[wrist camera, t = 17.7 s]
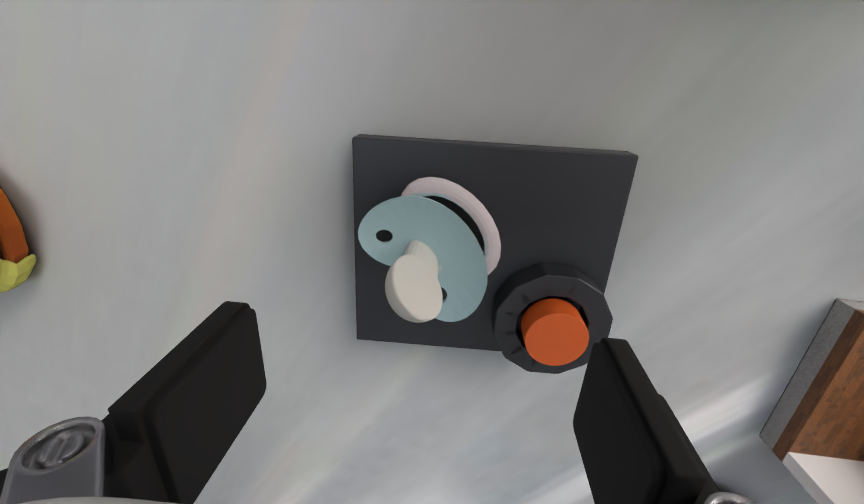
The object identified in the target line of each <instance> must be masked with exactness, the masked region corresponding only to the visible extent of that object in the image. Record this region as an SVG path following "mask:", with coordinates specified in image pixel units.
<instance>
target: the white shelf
mask: <svg viewBox="0 0 864 504" xmlns="http://www.w3.org/2000/svg"><path fill="white" fill-rule="evenodd" d="M760 437H761V438H762V439H763V441H764V442H765V443H766V444H767V445H768V446H769V448H770V449H771V450H772V451H773V452H774V453H775V455H776V456H777V457H778V458H779V459H780V461H781V462H782V463H783V464H784V465H785V466H786V468H787V469H788V470H789V471H790V472H791V473H792V475H793V476H794V477H795V478H796V479H797V480H798V482H799V483H800V484H801V485H802V486H803V488H804V489H805V490H806V491H807V492H808V493H809V495H810V496H811V497H812V498H813V499H814V500H815V502H816V503H817V504H864V302H860V301H852V300H843V299H837V300H836V301H835V303H834V305H833V307H832V308H831V310H830V312H829V314H828V316H827V317H826V319H825V321H824V323H823V324H822V326H821V328H820V330H819V331H818V333H817V335H816V337H815V338H814V340H813V342H812V344H811V346H810V347H809V349H808V351H807V353H806V354H805V356H804V358H803V360H802V361H801V363H800V365H799V367H798V369H797V370H796V372H795V374H794V376H793V377H792V379H791V381H790V383H789V384H788V386H787V388H786V390H785V391H784V393H783V395H782V397H781V399H780V400H779V402H778V404H777V406H776V407H775V409H774V411H773V413H772V414H771V416H770V418H769V420H768V422H767V423H766V425H765V427H764V429H763V430H762V432H761V434H760Z"/></svg>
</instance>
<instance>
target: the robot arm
mask: <svg viewBox="0 0 864 504" xmlns="http://www.w3.org/2000/svg"><path fill="white" fill-rule="evenodd" d="M265 390H266V377H265V371H264V364H263V358H262V351H261V344H260V338H259V331H258V325H257V318H256V313H255V310H254V309H251V308H250V306H249V304H247V303H240V302H230V301H227V302H224V303H223V304H221V305H220V306H219V307H218V308H217V309H216V310H215V311H214V312H213V313H212V314H211V315H209V316H208V317H207V318H206V319H205V320H204V321H203V322H202V323H201V324H200V325H199V326H197V327H196V328H195V329H194V330H193V331H192V332H191V333H190V334H189V335H188V336H187V337H186V338H184V339H183V340H182V341H181V342H180V343H179V344H178V345H177V346H176V347H175V348H174V349H172V350H171V351H170V352H169V353H168V354H167V355H166V356H165V357H164V358H163V359H162V360H160V361H159V362H158V363H157V364H156V365H155V366H154V367H153V368H152V369H151V370H150V371H148V372H147V373H146V374H145V375H144V376H143V377H142V378H141V379H140V380H139V381H138V382H136V383H135V384H134V385H133V386H132V387H131V388H130V389H129V390H128V391H127V392H126V393H124V394H123V395H122V396H121V397H120V398H119V399H118V400H117V401H116V402H115V403H114V404H112V405H111V406H110V407H109V408H108V411H109V414H108V415H107V416H106V417H105V418H104V419H103V420H102V421H100V420H99V419H98V418H93V417H76V418H72V419H68V420H64V421H61V422H59V423H56V424H54V425H51V426H49V427H47V428H45V429H43V430H42V431H40V432H38V433H36V434H35V435H33V436H32V437H31V438H29V439H28V440H27V441H26V442H24V443H23V444H22V445H21V446H20V447H19V449H18V450H17V451H16V452H15V453H14V455H13V457H12V459H11V461H10V464H9V468H7V469H4V470H2V471H0V504H193V503H194V502H195V500H196V499H197V497H198V496H199V494H200V493H201V491H202V490H203V488H204V486H205V485H206V483H207V482H208V480H209V479H210V477H211V476H212V474H213V473H214V471H215V470H216V468H217V466H218V465H219V463H220V462H221V460H222V459H223V457H224V456H225V454H226V453H227V451H228V450H229V448H230V446H231V445H232V443H233V442H234V440H235V439H236V437H237V436H238V434H239V433H240V431H241V430H242V428H243V426H244V425H245V423H246V422H247V420H248V419H249V417H250V416H251V414H252V413H253V411H254V410H255V408H256V406H257V405H258V403H259V402H260V400H261V399H262V397H263V395H264V393H265ZM573 427H574V432H575V436H576V439H577V443H578V446H579V450H580V453H581V457H582V460H583V464H584V467H585V471H586V474H587V478H588V481H589V485H590V488H591V492H592V495H593V499H594V503H595V504H758V503H756V502H754V501H752V500H750V499H748V498H746V497H744V496H741V495H738V494H734V493H731V492H720V491H719V489H718V488H717V486H716V484H715V482H714V481H713V479H712V477H711V476H710V474H709V472H708V471H707V469H706V467H705V466H704V464H703V462H702V461H701V459H700V457H699V455H698V454H697V452H696V450H695V449H694V447H693V445H692V444H691V442H690V440H689V439H688V437H687V435H686V434H685V432H684V430H683V428H682V427H681V425H680V423H679V422H678V420H677V418H676V417H675V415H674V413H673V412H672V410H671V408H670V407H669V405H668V403H667V401H666V400H665V399H664V398H663V396H661V395H659V394H658V393H657V391H656V390H655V388H654V386H653V385H652V383H651V381H650V379H649V378H648V376H647V374H646V372H645V371H644V369H643V367H642V366H641V364H640V362H639V360H638V359H637V357H636V355H635V353H634V352H633V350H632V348H631V347H630V345H629V343H628V342H627V341H626V340H623V339H613V338H602V339H601V340H600V343H598V342H595V343H594V344H593V346H592V350H591V354H590V357H589V361H588V365H587V369H586V372H585V376H584V380H583V384H582V387H581V391H580V395H579V399H578V402H577V406H576V410H575V414H574V419H573Z"/></svg>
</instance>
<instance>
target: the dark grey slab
mask: <svg viewBox="0 0 864 504" xmlns="http://www.w3.org/2000/svg"><path fill="white" fill-rule="evenodd" d="M352 145H353V189H354V234H355V278H356V322H357V339H361V340H373V341H385V342H397V343H409V344H421V345H433V346H445V347H457V348H469V349H481V350H493V351H502V353H503V355H504V357H505V358H506V359H508V360H510V361H511V362H513V363H515V364H516V365H518V366H520V367H521V368H523V369H525V370H527V371H530V372H541V373H553V374H559V373H562V372H565V371H568V370H571V369H574V368H577V367H580V366H582V365H585V364H586V363H588V361H589V357H590V354H591V350H592V346H593V344H594V343H595V342H598V343H600V340H601V339H602V338H608V335H609V331H610V328H611V324H612V320H613V317H612V315H611V312H610V310H609V307H608V305H607V302H606V300H605V297H604V292H605V288H606V284H607V280H608V276H609V272H610V268H611V264H612V260H613V256H614V252H615V248H616V244H617V240H618V236H619V232H620V228H621V224H622V220H623V216H624V212H625V208H626V204H627V200H628V196H629V193H630V189H631V185H632V181H633V177H634V173H635V169H636V165H637V161H638V156H637V155H635V154H633V153H630V152H628V151H614V150H598V149H583V148H567V147H551V146H536V145H520V144H505V143H489V142H473V141H458V140H442V139H426V138H411V137H395V136H380V135H364V134H359V135H357V136H355V137H353V139H352ZM425 177H436V178H443V179H446V180H449V181H451V182H454V183H456V184H458V185H460V186H461V187H463V188H464V189H466V190H467V191H469V192H470V193H472V194H473V195H474V196H475V197H476V198H477V199H478V200H479V201H480V202H481V203H482V204H483V205H484V207H485V208H486V210H487V211H488V213H489V214H490V215H491V217H492V218H493V221H494V223H495V225H496V227H497V230H498V232H499V237H500V242H501V253H500V259H499V261H498V264H497V266H496V268H495V269H494V270H493V271H492V272H491V273H490V274H489V275H488V277H487V287H486V291H485V294H484V296H483V298H482V301H481V302H480V304H479V306H478V307H477V309H476V310H475V311H474V312H473V313H472V314H471V315H469V316H468V317H467V318H464V319H462V320H460V321H455V322H445V321H442V320H438V319H436V318H434V319H432V320H429V321H426V322H419V323H416V322H411V321H408V320H405V319H403V318H402V317H400V316H399V315H398V314H397V313H396V312H395V311H394V310H393V309H392V307H391V306H390V304H389V302H388V300H387V297H386V292H385V280H386V276H387V273H388V271H389V268H390V267H391V266H389V265H385V264H383V263H381V262H379V261H377V260H375V259H374V258H372V257H371V256H370V255H369V254H368V253H367V252H366V251H365V250H364V249H363V248H362V246H361V244H360V241H359V239H358V230H359V225H360V223H361V221H362V219H363V218H364V217H365V215H366V214H367V213H368V212H369V211H370V210H371V209H372V208H374V207H375V206H377V205H378V204H380V203H382V202H384V201H387V200H389V199H392V198H396V197H400V196H401V195H402V192H403V191H404V190H405V188H406V187H407V186H408V184H410V183H411V182H413V181H415V180H417V179H419V178H425ZM424 198H428V199H432V200H434V201H436V202H438V203H440V204H442V205H444V206H446V207H447V208H449V209H450V210H451V211H453V212H454V213H455V214H457V215H458V216H459V217H460V218H461V219H462V220H463V221H464V223H465V224H466V225H467V226H468V227H469V229H470V230H471V231H472V233H473V234H474V236H475V237H476V239H477V241H478V243H479V245H480V247H481V249H482V251H484V240H483V236H482V234H481V232H480V230H479V228H478V226H477V224H476V223H475V222H474V220H473V219H472V217H471V216H470V215H469V214H468V213H467V212H466V211H465V210H464V209H463V208H461V207H460V206H458V205H457V204H456V203H454V202H453V201H450V200H448V199H446V198H443V197H439V196H433V195H432V196H424ZM376 238H377V239H378V240H379V241H381V242H388V241H390V240H391V239H392V238H393V235H392V233H391V232H390V231H388V230H380V231H378V232H377V233H376ZM441 290H442V296H443V300H445V299H446V297H447V292H446V290H445V289H444V288H442V287H441ZM549 298H557V299H562V300H565V301H567V302H569V303H571V304H572V305H573V306H574V307H575V308H576V309H577V310H578V312H579V314H580V316H581V318H582V319H583V321H584V323H585V325H586V327H587V329H588V332H589V342H588V346H587V348H586V350H585V351H584V353H583V354H582V355H581V356H580V357H579V358H577V359H576V360H574V361H572V362H570V363H568V364H564V365H559V366H551V365H545V364H542V363H540V362H538V361H536V360H535V359H533V358H532V357H531V356H530V355H529V353H528V352H527V350H526V347H525V343H524V339H523V335H522V331H521V320H522V317H523V315H524V313H525V312H526V310H527V309H528V308H529V307H530V306H531V305H533V304H534V303H536V302H538V301H540V300H543V299H549Z"/></svg>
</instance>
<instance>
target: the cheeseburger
mask: <svg viewBox="0 0 864 504" xmlns="http://www.w3.org/2000/svg"><path fill="white" fill-rule="evenodd" d="M28 251H29V250H28V246H27V243H26V239H25V236H24V232H23V228H22V225H21V222H20V221H19V219H18V217H17V215H16V213H15V211H14V209H13V207H12V206H11V204H10V202H9V200H8V198H7V196H6V195H5V193H4V192H3V191H2V189H1V188H0V293H1V292H5V291H8V290H10V289H13V288H15V287H18V286H19V285H20V284H22V283H23V282H24V281H25V280H26V279H27V278H28V276H29V275H30V273H31V271H32V269H33V267H34V265H35V263H36V257H35V255H33V254H31V255H29V256H27V255H28Z"/></svg>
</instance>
